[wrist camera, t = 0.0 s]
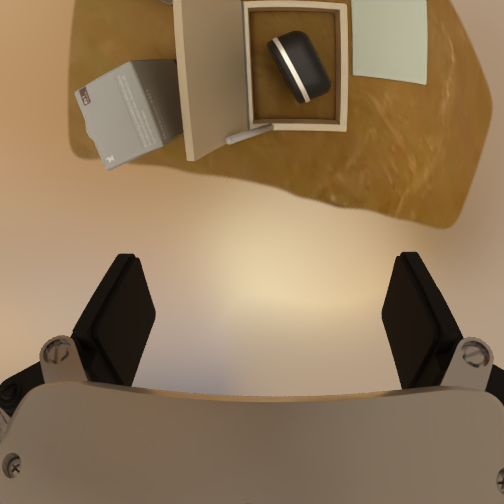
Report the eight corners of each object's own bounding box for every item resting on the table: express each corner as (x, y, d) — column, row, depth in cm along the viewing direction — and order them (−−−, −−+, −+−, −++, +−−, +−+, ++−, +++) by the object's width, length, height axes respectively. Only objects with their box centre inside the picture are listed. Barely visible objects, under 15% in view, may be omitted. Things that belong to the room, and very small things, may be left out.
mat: (349, -14, 26) (350, -15, 26) (424, 0, 26) (426, 0, 25) (352, 74, 33) (352, 75, 33) (424, 84, 32) (426, 84, 32)
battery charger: (321, 83, 34) (340, 92, 25) (293, 95, 35) (301, 108, 26) (295, 33, 31) (305, 23, 21) (266, 46, 32) (264, 40, 23)
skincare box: (210, 114, 37) (175, 149, 24) (160, 133, 39) (105, 178, 26) (187, 54, 33) (137, 55, 20) (136, 76, 34) (68, 94, 21)
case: (205, 9, 29) (171, -14, 18) (341, 7, 28) (376, -16, 17) (213, 127, 38) (186, 161, 27) (341, 126, 37) (373, 160, 25)
